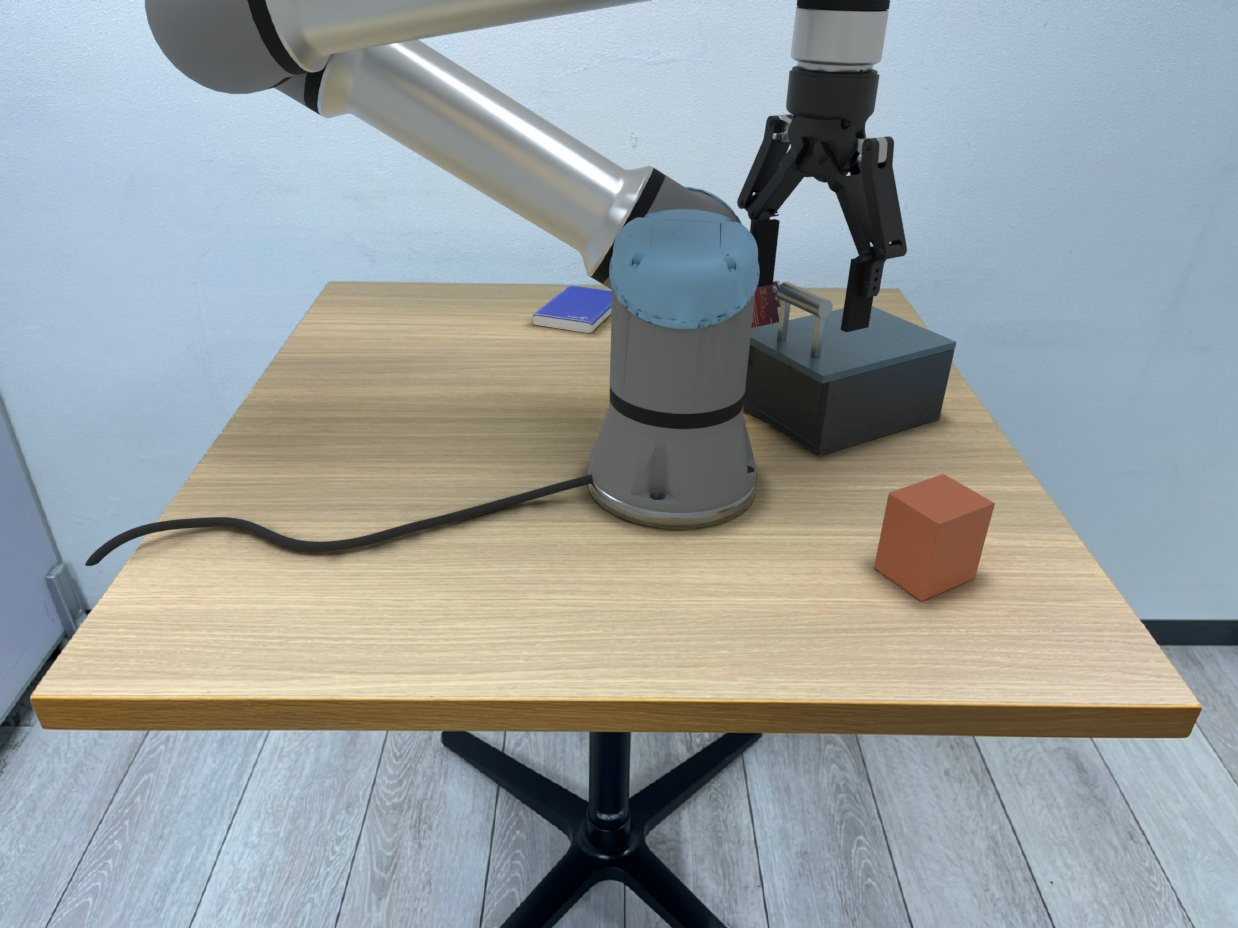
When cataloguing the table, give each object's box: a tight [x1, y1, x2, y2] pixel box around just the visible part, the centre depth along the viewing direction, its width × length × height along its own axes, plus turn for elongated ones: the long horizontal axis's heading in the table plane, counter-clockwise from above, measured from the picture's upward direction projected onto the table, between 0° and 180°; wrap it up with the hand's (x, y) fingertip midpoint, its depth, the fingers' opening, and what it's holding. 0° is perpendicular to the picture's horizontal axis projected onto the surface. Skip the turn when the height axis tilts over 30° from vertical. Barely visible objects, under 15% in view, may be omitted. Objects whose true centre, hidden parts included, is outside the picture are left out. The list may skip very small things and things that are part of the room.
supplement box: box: [751, 280, 781, 328], centre depth 102 cm, size 9×5×16 cm
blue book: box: [532, 285, 612, 334], centre depth 121 cm, size 2×8×12 cm
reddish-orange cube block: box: [873, 473, 996, 602], centre depth 70 cm, size 6×5×7 cm
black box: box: [743, 345, 956, 457], centre depth 95 cm, size 17×13×8 cm
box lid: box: [750, 281, 957, 384], centre depth 91 cm, size 18×13×7 cm
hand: (804, 306), depth 87 cm, fingers open, 13 cm apart
